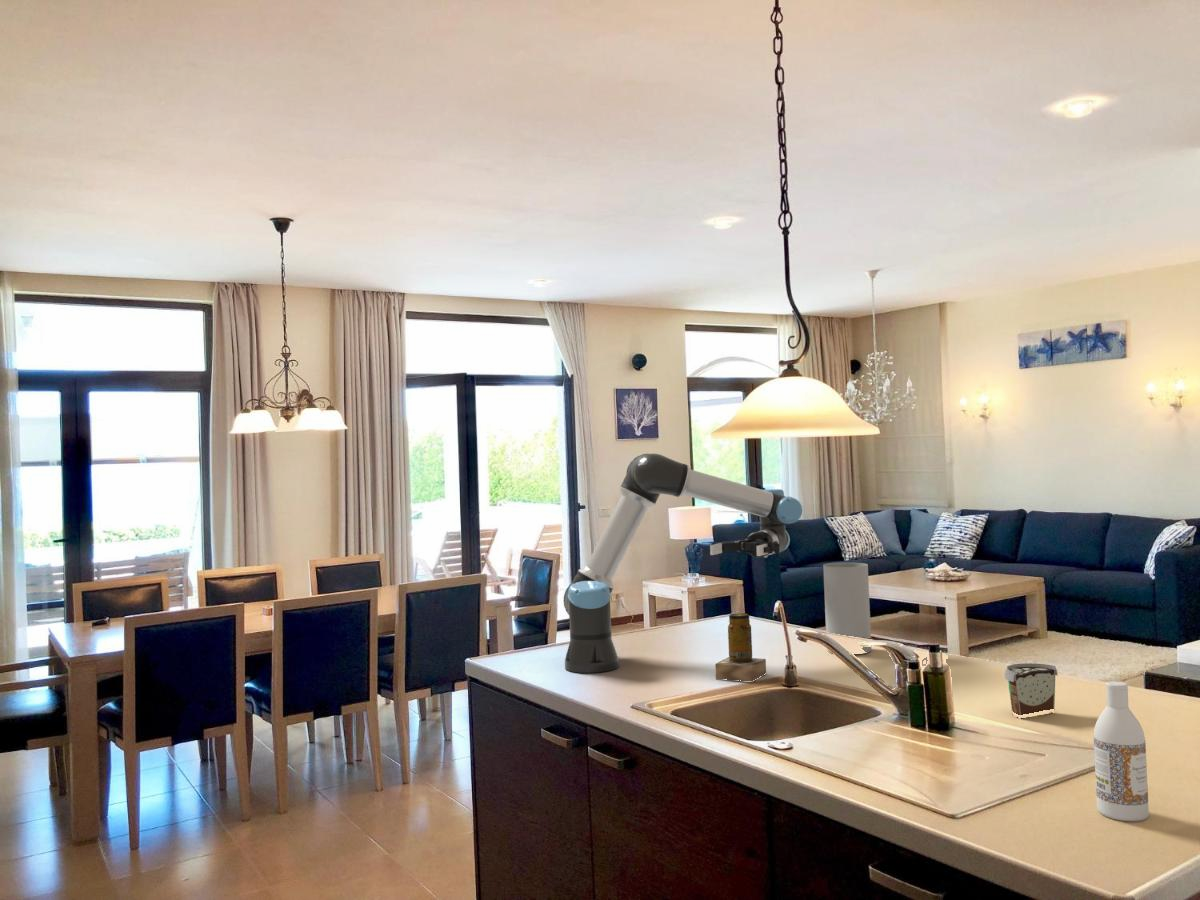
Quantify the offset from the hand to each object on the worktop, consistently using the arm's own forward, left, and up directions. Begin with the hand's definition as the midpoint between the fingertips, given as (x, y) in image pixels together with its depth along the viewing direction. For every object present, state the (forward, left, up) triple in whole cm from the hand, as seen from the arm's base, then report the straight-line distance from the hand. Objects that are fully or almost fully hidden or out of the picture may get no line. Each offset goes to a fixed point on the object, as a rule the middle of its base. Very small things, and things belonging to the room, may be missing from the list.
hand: (734, 550), depth 256 cm
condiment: (+6, -11, -28) cm, 30 cm away
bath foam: (+93, -76, -32) cm, 124 cm away
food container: (+74, -21, -32) cm, 83 cm away
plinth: (+5, -11, -32) cm, 34 cm away
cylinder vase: (+22, +30, -32) cm, 49 cm away
